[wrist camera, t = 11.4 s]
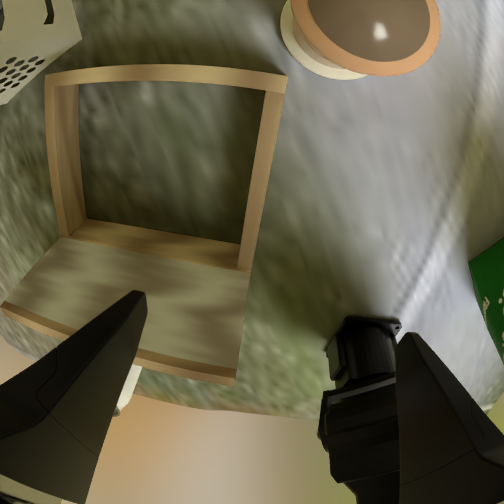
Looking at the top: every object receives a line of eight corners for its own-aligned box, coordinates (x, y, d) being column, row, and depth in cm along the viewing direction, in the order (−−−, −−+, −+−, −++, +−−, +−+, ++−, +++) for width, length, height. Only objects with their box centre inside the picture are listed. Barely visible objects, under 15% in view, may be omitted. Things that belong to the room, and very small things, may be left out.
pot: (393, 4, 11) (447, -20, 5) (377, 86, 15) (428, 98, 9) (295, -24, 11) (303, -72, 5) (279, 60, 15) (279, 52, 9)
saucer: (396, 3, 12) (399, 1, 11) (378, 92, 16) (381, 93, 15) (289, -27, 11) (289, -30, 11) (271, 66, 15) (271, 65, 15)
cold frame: (286, 76, 16) (298, 79, 6) (252, 257, 24) (233, 386, 14) (70, 70, 15) (-55, 105, 6) (80, 226, 24) (4, 315, 14)
